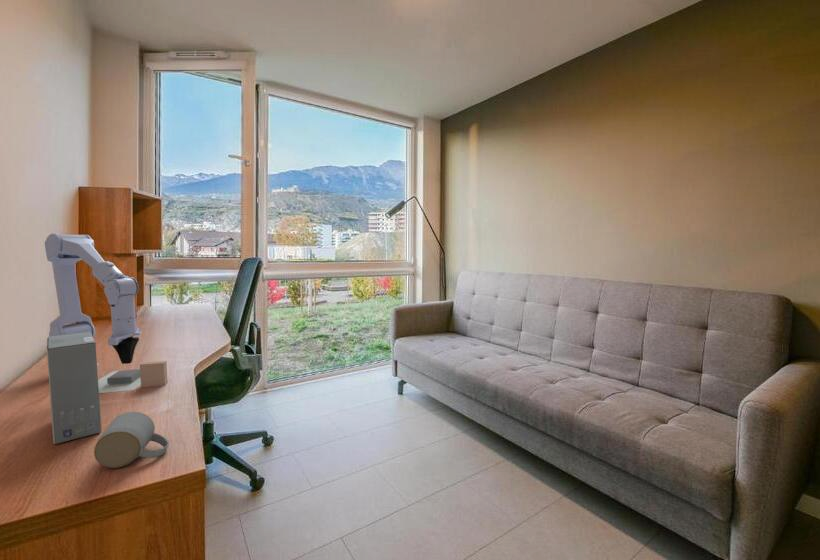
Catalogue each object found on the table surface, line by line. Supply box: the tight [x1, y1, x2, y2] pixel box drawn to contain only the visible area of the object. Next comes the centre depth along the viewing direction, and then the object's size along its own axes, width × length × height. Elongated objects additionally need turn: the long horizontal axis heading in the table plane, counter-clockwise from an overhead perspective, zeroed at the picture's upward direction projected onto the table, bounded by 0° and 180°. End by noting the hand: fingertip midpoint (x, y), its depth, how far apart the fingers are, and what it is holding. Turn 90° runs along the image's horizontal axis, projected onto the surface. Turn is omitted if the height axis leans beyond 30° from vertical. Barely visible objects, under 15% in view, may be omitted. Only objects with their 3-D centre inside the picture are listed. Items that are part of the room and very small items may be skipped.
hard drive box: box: [46, 332, 102, 445], centre depth 81 cm, size 16×8×20 cm, turn 44°
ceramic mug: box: [93, 411, 170, 469], centre depth 70 cm, size 11×8×8 cm
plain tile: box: [139, 360, 169, 388], centre depth 106 cm, size 2×6×7 cm, turn 105°
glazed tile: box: [107, 368, 140, 385], centre depth 110 cm, size 2×6×7 cm
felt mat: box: [98, 370, 141, 394], centre depth 110 cm, size 20×14×1 cm
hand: (126, 363), depth 111 cm, fingers closed
